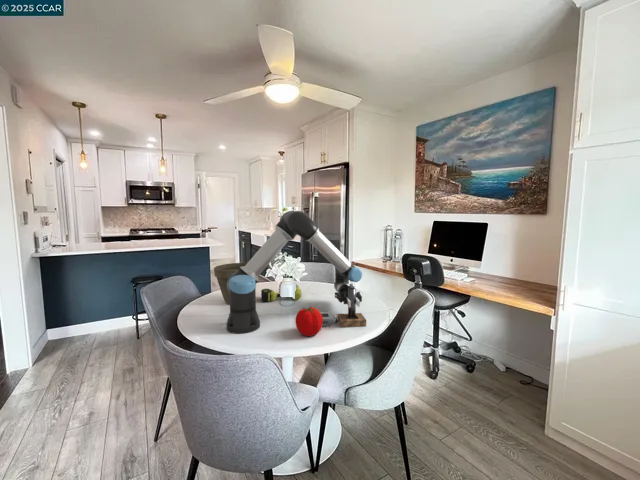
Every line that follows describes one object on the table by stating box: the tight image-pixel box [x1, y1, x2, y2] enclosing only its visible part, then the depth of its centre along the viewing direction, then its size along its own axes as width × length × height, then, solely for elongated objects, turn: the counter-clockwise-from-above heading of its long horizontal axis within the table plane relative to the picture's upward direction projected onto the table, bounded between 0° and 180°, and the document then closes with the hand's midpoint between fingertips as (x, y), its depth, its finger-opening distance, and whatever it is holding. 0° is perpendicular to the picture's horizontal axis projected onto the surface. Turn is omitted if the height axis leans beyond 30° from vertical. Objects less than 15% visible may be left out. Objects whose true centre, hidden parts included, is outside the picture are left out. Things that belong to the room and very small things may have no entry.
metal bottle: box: [347, 283, 357, 318], centre depth 142 cm, size 4×4×16 cm
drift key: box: [322, 323, 331, 328], centre depth 139 cm, size 8×2×1 cm, turn 111°
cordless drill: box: [260, 284, 302, 304], centre depth 189 cm, size 7×25×25 cm
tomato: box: [295, 306, 323, 337], centre depth 131 cm, size 12×13×12 cm
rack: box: [336, 312, 367, 328], centre depth 143 cm, size 12×10×3 cm
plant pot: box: [213, 262, 248, 305], centre depth 177 cm, size 25×25×22 cm
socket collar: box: [319, 311, 336, 325], centre depth 147 cm, size 10×10×2 cm
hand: (354, 304), depth 137 cm, fingers closed on metal bottle, 4 cm apart
